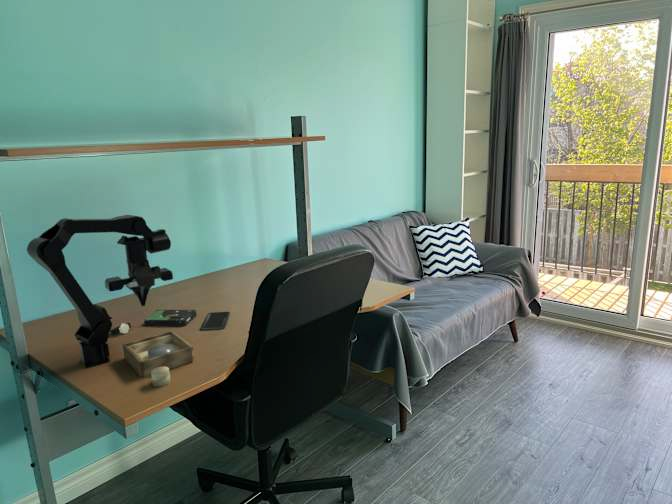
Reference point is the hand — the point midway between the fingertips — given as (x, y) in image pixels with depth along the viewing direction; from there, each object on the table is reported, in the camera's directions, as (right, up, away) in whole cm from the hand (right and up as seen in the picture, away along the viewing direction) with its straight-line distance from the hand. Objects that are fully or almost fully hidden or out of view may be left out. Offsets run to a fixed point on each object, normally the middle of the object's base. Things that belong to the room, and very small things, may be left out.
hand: (142, 305), depth 154 cm
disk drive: (+2, -8, +21) cm, 22 cm away
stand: (+14, -17, -24) cm, 33 cm away
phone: (+18, -8, +18) cm, 27 cm away
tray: (+9, -14, -10) cm, 19 cm away
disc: (+9, -13, -10) cm, 19 cm away
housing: (+8, -14, -11) cm, 20 cm away
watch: (-12, -10, +11) cm, 19 cm away
